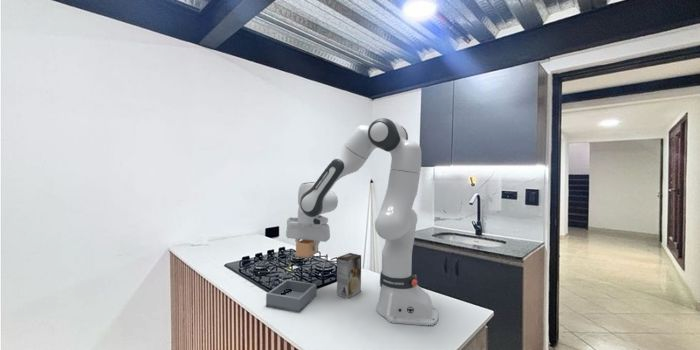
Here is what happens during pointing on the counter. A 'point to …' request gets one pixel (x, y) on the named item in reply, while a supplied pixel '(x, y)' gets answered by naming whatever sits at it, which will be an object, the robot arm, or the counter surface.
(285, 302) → the grey crate
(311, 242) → the orange crate
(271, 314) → the counter surface
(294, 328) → the counter surface
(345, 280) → the coffee box
